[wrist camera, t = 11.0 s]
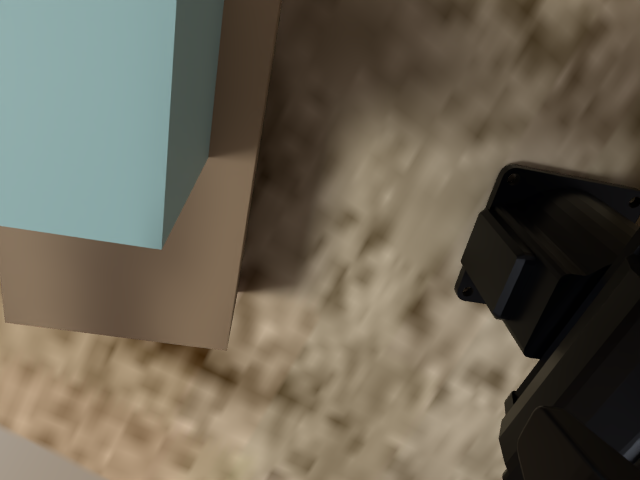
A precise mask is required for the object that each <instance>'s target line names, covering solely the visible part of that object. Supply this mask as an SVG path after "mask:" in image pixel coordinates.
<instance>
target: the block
mask: <svg viewBox="0 0 640 480" xmlns="http://www.w3.org/2000/svg"><path fill="white" fill-rule="evenodd" d="M223 6H224V0H0V226H5V227H11V228H18V229H25V230H31V231H38V232H45V233H52V234H58V235H65V236H72V237H79V238H85V239H92V240H99V241H106V242H112V243H119V244H126V245H133V246H139V247H146V248H153V249H159V250H162V248H163V246H164V244H165V242H166V240H167V238H168V236H169V234H170V232H171V230H172V228H173V226H174V224H175V222H176V220H177V218H178V216H179V214H180V212H181V210H182V208H183V206H184V204H185V202H186V200H187V199H188V197H189V195H190V193H191V191H192V189H193V187H194V185H195V183H196V181H197V179H198V177H199V175H200V173H201V171H202V169H203V167H204V165H205V163H206V161H207V159H208V155H209V145H210V135H211V125H212V115H213V106H214V96H215V86H216V76H217V66H218V56H219V46H220V36H221V26H222V16H223Z"/></svg>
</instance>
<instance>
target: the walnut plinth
mask: <svg viewBox="0 0 640 480" xmlns="http://www.w3.org/2000/svg"><path fill="white" fill-rule="evenodd" d="M281 6H282V0H224V6H223V16H222V26H221V36H220V46H219V56H218V66H217V76H216V86H215V96H214V106H213V115H212V125H211V135H210V145H209V155H208V159H207V161H206V163H205V165H204V167H203V169H202V171H201V173H200V175H199V177H198V179H197V181H196V183H195V185H194V187H193V189H192V191H191V193H190V195H189V197H188V199H187V200H186V202H185V204H184V206H183V208H182V210H181V212H180V214H179V216H178V218H177V220H176V222H175V224H174V226H173V228H172V230H171V232H170V234H169V236H168V238H167V240H166V242H165V244H164V246H163V248H162V250H159V249H153V248H146V247H139V246H133V245H126V244H119V243H112V242H106V241H99V240H92V239H85V238H79V237H72V236H65V235H58V234H52V233H45V232H38V231H31V230H25V229H18V228H11V227H5V226H0V280H1V289H2V298H3V307H4V317H5V323H13V324H21V325H29V326H36V327H44V328H52V329H60V330H68V331H76V332H84V333H91V334H99V335H107V336H115V337H123V338H131V339H139V340H146V341H154V342H162V343H170V344H178V345H186V346H194V347H201V348H209V349H217V350H225V351H227V346H228V341H229V335H230V330H231V324H232V319H233V314H234V308H235V303H236V298H237V292H238V286H239V279H240V273H241V266H242V260H243V253H244V247H245V240H246V234H247V227H248V221H249V214H250V208H251V201H252V195H253V188H254V182H255V175H256V169H257V162H258V156H259V149H260V143H261V136H262V130H263V123H264V117H265V110H266V104H267V97H268V91H269V84H270V78H271V71H272V65H273V58H274V52H275V45H276V38H277V32H278V25H279V19H280V12H281Z"/></svg>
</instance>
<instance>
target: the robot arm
mask: <svg viewBox="0 0 640 480" xmlns="http://www.w3.org/2000/svg"><path fill="white" fill-rule="evenodd" d="M512 174H516V178H515V179H514V180H513V181H511V182H508V177H509V176H510V175H512ZM634 197H635V200H634V201H633V202H632V203H630V204H629V201H630V200H631V199H632V198H634ZM639 215H640V190H638V189H636V188H632V187H627V186H622V185H617V184H612V183H607V182H602V181H596V180H591V179H586V178H581V177H576V176H571V175H565V174H560V173H555V172H550V171H545V170H540V169H535V168H529V167H524V166H519V165H508V166H505V167H504V168H503V169H502V170H501V171H500V173H499V174H498V177H497V179H496V182H495V185H494V187H493V190H492V192H491V195H490V197H489V200H488V202H487V205H486V208H485V209H484V210H483V211H482V212H480V213H479V215H478V218H477V220H476V223H475V225H474V228H473V231H472V233H471V236H470V238H469V241H468V243H467V246H466V249H465V251H464V254H463V256H462V259H461V263H462V265H463V266H462V269H461V271H460V274H459V276H458V279H457V281H456V284H455V288H454V289H455V292H456V294H457V296H458V297H459V298H460V299H461V300H464V301H469V302H476V303H483V304H486V305H487V306H488V308H489V309H490V311H491V313H492V314H493V316H494V318H496V319H499V320H503V322H504V323H505V325H506V327H507V328H508V330H509V331H510V333H511V335H512V336H513V338H514V339H515V341H516V343H517V344H518V346H519V347H520V349H521V351H522V352H523V354H524V355H525V356H526V357H529V358H536V359H540V360H539V362H538V363H537V364H536V366H535V367H534V368H533V370H532V371H531V372H530V373H529V375H528V376H527V377H526V379H525V380H524V381H523V383H522V384H521V385H520V387H519V388H518V389H517V391H512V392H511V394H510V395H509V396H508V398H507V399H506V400H505V403H504V404H505V414H506V416H505V417H504V418H503V419H502V422H501V428H500V434H499V442H500V446H501V450H502V454H503V458H504V462H505V465H506V468H507V469H506V470H505V472H504V473H503V476H502V478H503V480H640V227H639V226H638V225H636V224H635V223H636V221H637V219H638V217H639ZM466 287H470V289H469V290H468V291H464V292H463V290H464V288H466Z"/></svg>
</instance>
